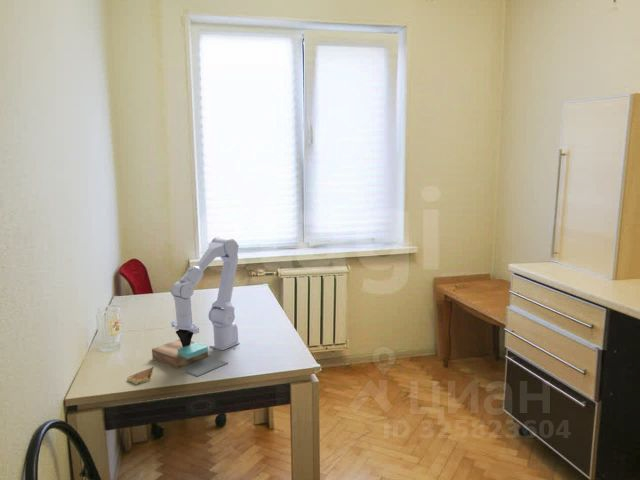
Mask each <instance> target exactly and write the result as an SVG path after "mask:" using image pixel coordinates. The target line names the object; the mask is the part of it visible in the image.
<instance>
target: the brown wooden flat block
mask: <svg viewBox="0 0 640 480" xmlns="http://www.w3.org/2000/svg"><path fill="white" fill-rule="evenodd" d="M193 343H196V342H195V341H192V340H191V343H190V344H193ZM182 347H183V346H182V343H181V341H180V339H179V338H178V339H177V340H173V341H170V342H168V343H165V344H162V345H159V346H157V347H153V348H151V354H152V355H151V357H152V360H154V361H157V362H160V363H162V364H164V365H166V366H170V367H172V368H174V369H177V370H179V369H178V368H180V367H183V366H185V365H187V364H190V363H192V362H195V361H197V360H200V359H202V358H205V357H207V356H209V351H208V352H205V353H202V354H200V355H197V356H195V357H192V358H190V359H186V358H184V357H183V356H181V355H179V354H178V349H179V348H182Z"/></svg>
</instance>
